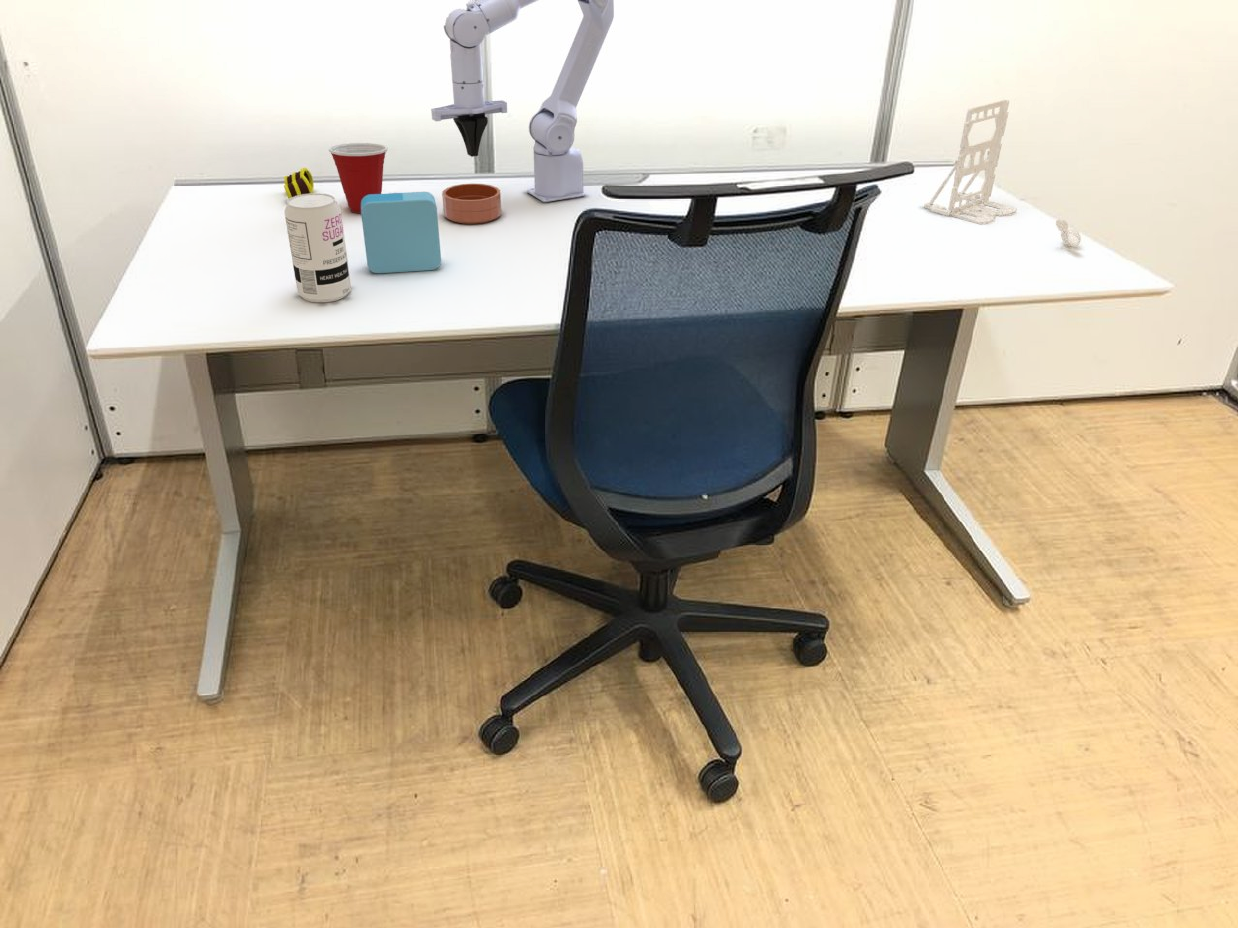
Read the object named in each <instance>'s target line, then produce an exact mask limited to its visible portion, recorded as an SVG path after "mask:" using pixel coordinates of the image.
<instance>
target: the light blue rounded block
mask: <svg viewBox="0 0 1238 928" xmlns="http://www.w3.org/2000/svg"><path fill="white" fill-rule="evenodd" d="M360 215H361V216H360V217H361V223H362V232H363V241H364V246H365V248H364V249H365V255H366V264H367V268H368V269H369V270H370V271H371V272H372V273H374V274H389V273H390V274H393V273H406V272H423V271H434V270H436V269H438V268H439V267H440V265H441V264H442V254H441V243H440V242H441V241H440V231H439V219H438V207H437V202H436V199H435V196H434V195H433V194H432V193H430V192H429V191H413V192H412V191H411V192H391V193H390V192H389V193H381V194H370V195H366V196H365V197H364V198H363V199H362V201H361V213H360Z"/></svg>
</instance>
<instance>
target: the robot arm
mask: <svg viewBox="0 0 1238 928" xmlns="http://www.w3.org/2000/svg"><path fill="white" fill-rule="evenodd" d="M538 1H539V0H477V1H475V2H472V1H468V2H466V4H465V6H466V9H464V8H456V9H453V10H452V11H450V13H448V15H447V17H446V19H445V24H444V25H443V29H444V33H445V36H447V38H448V39H449V49H450V55H449V57H450V69H451V82H452V94H453V95H452V96H453V103H452V104H448V105H443V106H440V107H433V108H431V109H430V111H431V119H432V121H434V122H441V121H444V120H451V119H452V120H453V122H454V123H455V126H456V127H457V129H458V131H459V133H460V135H461V137H462V140H463V143H464V146H465V149H466V153H467V155H468V156H470V157H471V158H473V157H479V151H480V146H481V141H482V138H483V137H482V136H483V135H484V132H485V130H486V127H487V125H488V122H489V118H488V117H487V116H486V115H492V114H500V113H501V114H508V102H507V101H505V100H486V99H485V87H484V85H485V84H484V70H483V68H484V66H483V54H482V42H483V41H484V39H485V37H486V36H488V35H490V34H491V33H494V32H496V31H497V30H500V29H501V28H503V27H505V26H506V25H508V24H510V23H512V22H514V21H516V20H517V19H518V16H519V14H520V10H521V9H524V8H526V7H527V6H529V5H532V4H534V3H536V2H538ZM577 3H578V5H579V7H580V10H581V13H582V16H583V17H582V20H581V22H580V23H579V26H578V29H577V31H576V34H575V36H574V38H573V41H572V43H571V46H570V48H569V50H568V53H567V55H566V58H565V61H564V63H563V65H562V68H561V70H560V72H559V75H558V77H557V80H556V82H555V84H554V87H553V89H552V91H551V94H550V96H549V97H547V98H546V99H545V100H544V101H543V102H542V103H541V105H540V108H539V109H538V110H537V112H536V113H535V114H533V116H532V117H531V119H530V121H529V123H528V132H529V135H530V137H531V138H532V140H533V141H534V145H533V174H534V175H533V176H534V177H533V178H534V180H533V181H534V188H529V189H527V190H526V193H528V194H529V195H531V196H533V197H534V198H536V199H538V200H539V201H541V202H543V203H548V202H556V201H562V200H568V199H573V198H580V197H585V196H586V193H585V192H584V160H583V156H582V153H581V152H580V150H579V149H578V148H576V147H572V146H573V144H574V142H575V130H576V129H575V128H576V125H577V123H578V114H577V113H578V112H577V106H578V104H579V101H580V99H581V97H582V95H583V92H584V90H585V87H586V85H587V83H588V80H589V78H590V75H591V73H592V71H593V68H594V66H595V63H596V61H597V59H598V57H599V54H600V52H601V49H602V47H603V45H604V43H605V41H606V38H607V36H608V33H609V31H610V29H611V26H612V24H613V21H614V17H615V1H614V0H577Z"/></svg>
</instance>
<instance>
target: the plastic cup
mask: <svg viewBox="0 0 1238 928" xmlns="http://www.w3.org/2000/svg"><path fill="white" fill-rule="evenodd" d="M388 148H389V147H388V146H387V145H385V144H381V143H380V144H379V143H372V142H370V143H369V142H351V143H342V144H335V145H332V146H330V147H328V152H329V153H330V155H331V156H332V159H333V161H334V165H335V167H336V171H337V173H338V177H339V181H340V184H341V187H342V191H343V194H344V196H345V199H346V202H347V206H348V208H349V211H350V212H352V213H355V214H361V201H362V199H363V198H364V197H365V196H366V195H370V194H382V191H383V181H384V180H383V179H384V178H383V177H384V164H385V159H386V153H387V151H388Z"/></svg>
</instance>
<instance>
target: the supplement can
mask: <svg viewBox="0 0 1238 928" xmlns="http://www.w3.org/2000/svg"><path fill="white" fill-rule="evenodd" d="M284 219H285V225H286V231H287V236H288V243H289V248H290V255H291V260H292V267H293V273H294V278H295V285H296V292H297V294H298V295H299V296H300V297H301V298H303V299H304V300H305V301H308V302H311V303H331V302H335V301H338V300H341V299H343V298H345V297H347V295H348V294H349V292H350V291H351V290H352V284H351V277H350V275H351V274H350V269H349V268H350V267H349V262H348V261H349V260H348V253H347V245H346V240H345V239H346V238H345V231H344V223H343V218H342V210H341V206H340V205H339V203H338V201H336V197H335V196H333V195H331V194H329V193H320V192H316V193H315V192H313V193H310V194H302V195H298V196H294V197H292V198H290V199H289V198H288V199H287V201H286V206H285V208H284Z"/></svg>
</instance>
